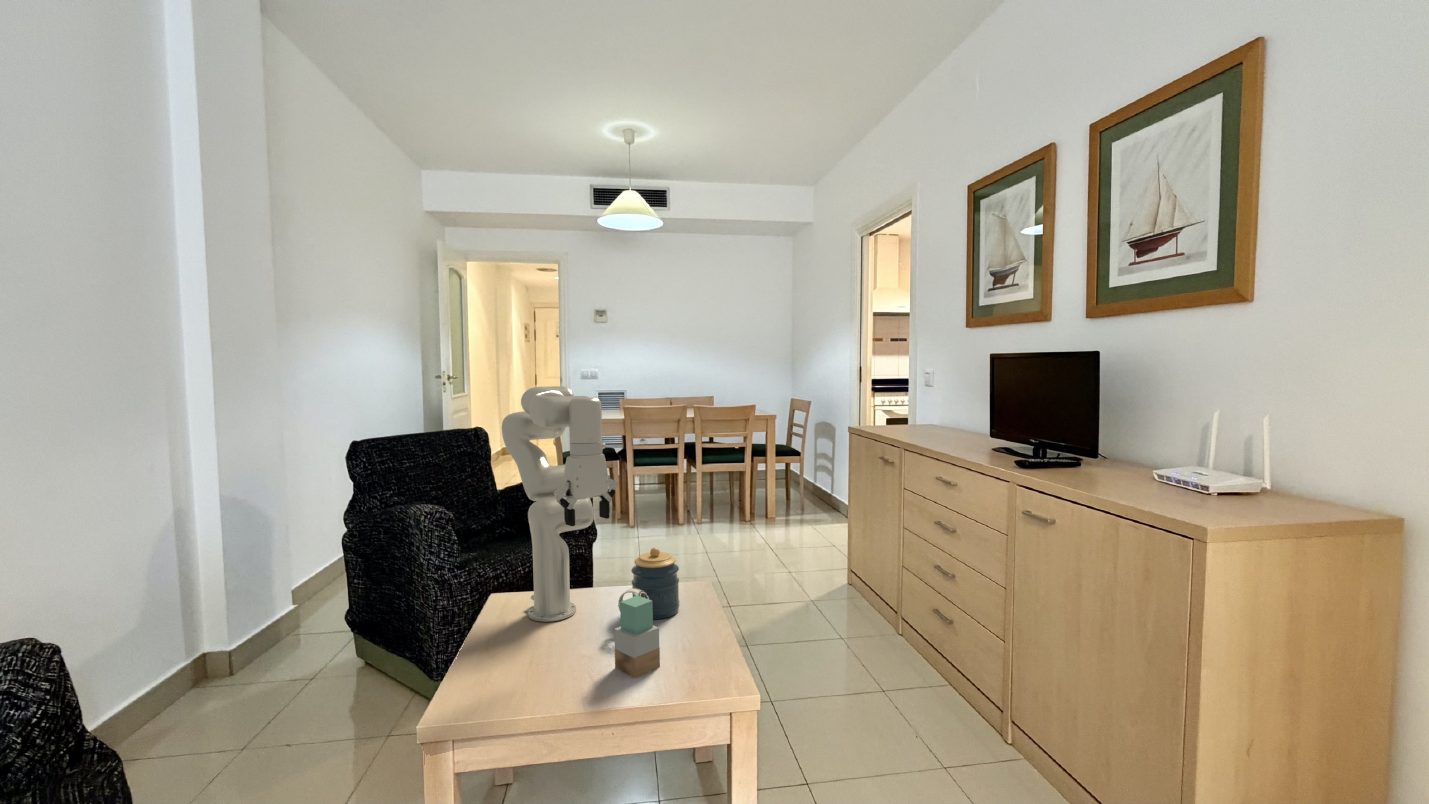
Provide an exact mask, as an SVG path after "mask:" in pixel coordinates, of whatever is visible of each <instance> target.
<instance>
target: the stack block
mask: <svg viewBox="0 0 1429 804" xmlns="http://www.w3.org/2000/svg"><path fill="white" fill-rule="evenodd" d="M619 613H620V626H621V629H623V630H626V631H628V632H631V633H633V634H639V633H641V632H643V631H645V630H648V629H650V628H652V627H653V625H654V619H653V604H652V600H649V599H646V598H643V597H640V596H635V597H633V596H632V597H630V598H626V599H623V601H621V602H620V610H619Z"/></svg>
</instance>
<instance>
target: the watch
mask: <svg viewBox="0 0 1429 804" xmlns="http://www.w3.org/2000/svg"><path fill="white" fill-rule="evenodd" d="M630 593H632V596H633V595H634V597H635V596H640V597H643V598H646V599H649V597H648V595H647V594H646V593H645V592H644V591H641V590H640V589H635V588H632V587H631V588H628V589H627V590H625V591H624V592H623V593H622V594H621V595H620V596H619V598H618V605H617V607H618V609H619V611H620V602H621V601H624V597H625V595H626V594H630ZM649 600H650V599H649Z"/></svg>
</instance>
